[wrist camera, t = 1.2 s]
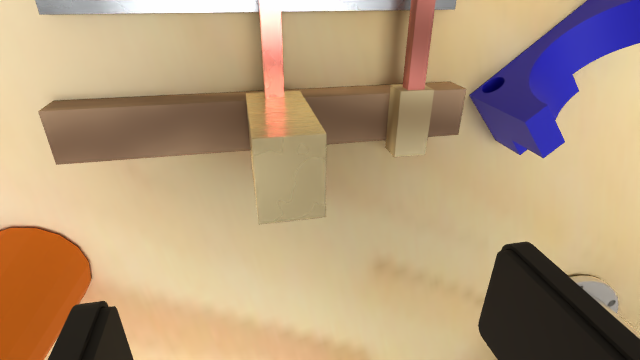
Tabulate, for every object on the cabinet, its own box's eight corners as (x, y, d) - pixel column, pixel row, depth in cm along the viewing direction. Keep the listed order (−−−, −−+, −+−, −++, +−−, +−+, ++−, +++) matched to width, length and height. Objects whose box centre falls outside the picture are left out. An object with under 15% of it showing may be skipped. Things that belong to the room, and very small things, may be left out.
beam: (442, 131, 28) (470, 150, 24) (71, 158, 23) (47, 186, 20) (466, -20, 23) (502, -20, 20) (15, -21, 19) (-28, -21, 16)
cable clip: (494, 139, 29) (551, 174, 24) (467, 94, 27) (524, 122, 22) (636, 29, 27) (732, 41, 22) (620, -28, 25) (722, -30, 20)
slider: (301, 156, 24) (325, 217, 18) (251, 159, 23) (258, 224, 17) (297, -20, 19) (328, -19, 13) (235, -20, 19) (238, -19, 13)
